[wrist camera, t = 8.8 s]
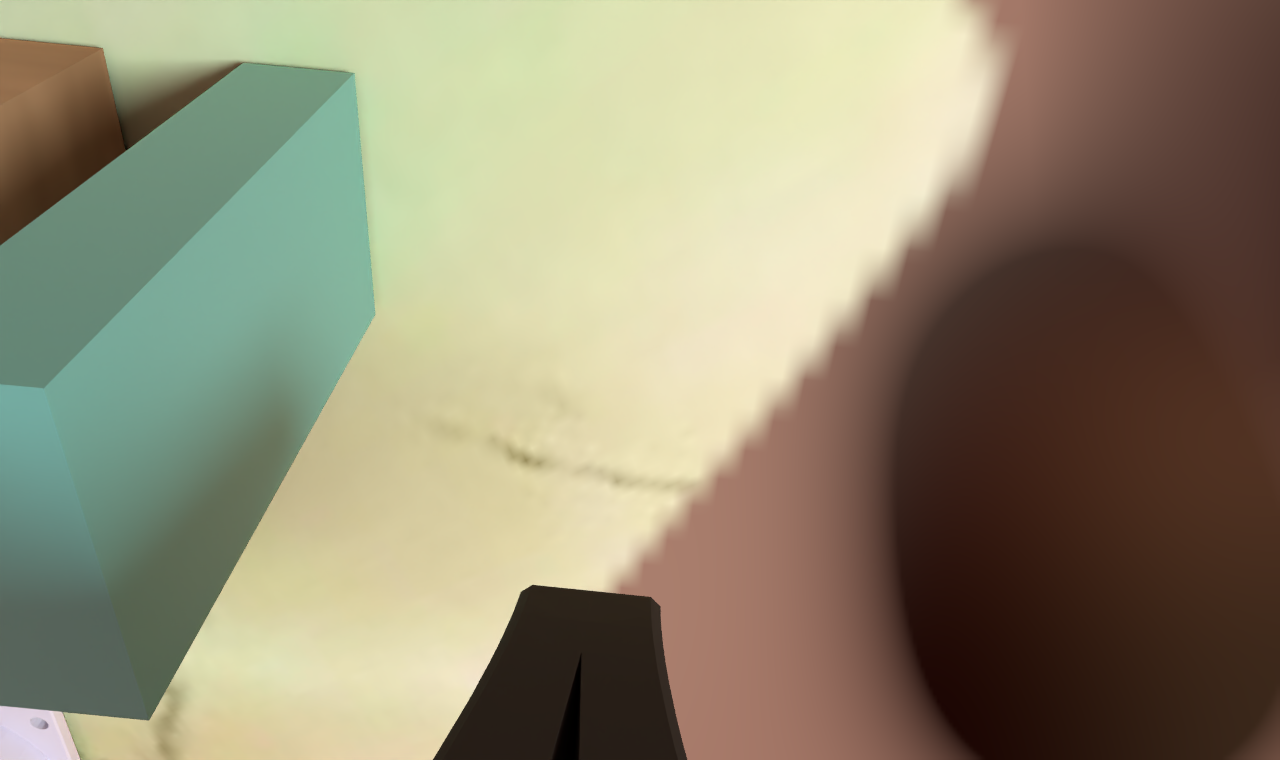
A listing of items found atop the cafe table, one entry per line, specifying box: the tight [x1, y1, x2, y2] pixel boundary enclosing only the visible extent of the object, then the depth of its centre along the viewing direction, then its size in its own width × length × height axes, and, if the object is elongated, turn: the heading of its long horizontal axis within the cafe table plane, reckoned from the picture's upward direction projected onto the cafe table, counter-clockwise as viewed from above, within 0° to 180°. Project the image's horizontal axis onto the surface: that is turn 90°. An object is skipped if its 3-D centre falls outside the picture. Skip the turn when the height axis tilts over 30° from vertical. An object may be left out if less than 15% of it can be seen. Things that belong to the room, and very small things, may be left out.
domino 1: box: [0, 63, 375, 720], centre depth 15 cm, size 5×2×10 cm, turn 176°
